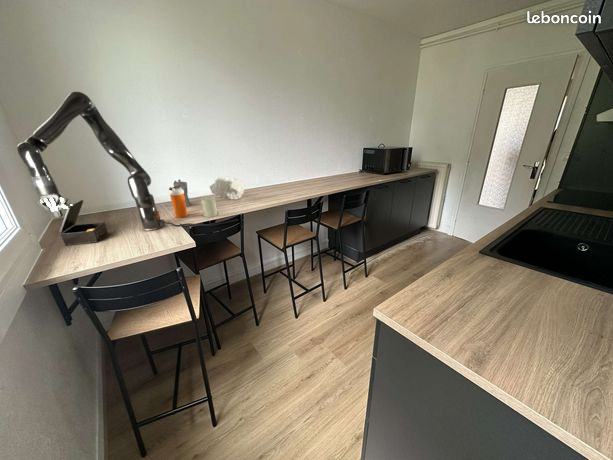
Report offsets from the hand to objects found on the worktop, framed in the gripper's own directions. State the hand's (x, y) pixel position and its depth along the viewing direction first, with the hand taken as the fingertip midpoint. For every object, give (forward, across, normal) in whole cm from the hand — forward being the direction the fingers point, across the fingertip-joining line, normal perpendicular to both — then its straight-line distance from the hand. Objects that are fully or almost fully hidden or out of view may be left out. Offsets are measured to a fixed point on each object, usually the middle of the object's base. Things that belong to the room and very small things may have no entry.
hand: (59, 217), depth 130 cm
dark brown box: (+14, +8, 0) cm, 16 cm away
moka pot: (+14, +48, +50) cm, 71 cm away
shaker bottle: (+14, +52, +26) cm, 59 cm away
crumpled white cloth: (+14, +82, +61) cm, 103 cm away
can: (+14, +70, +23) cm, 75 cm away
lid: (0, +6, 0) cm, 6 cm away
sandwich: (+13, +12, 0) cm, 17 cm away
